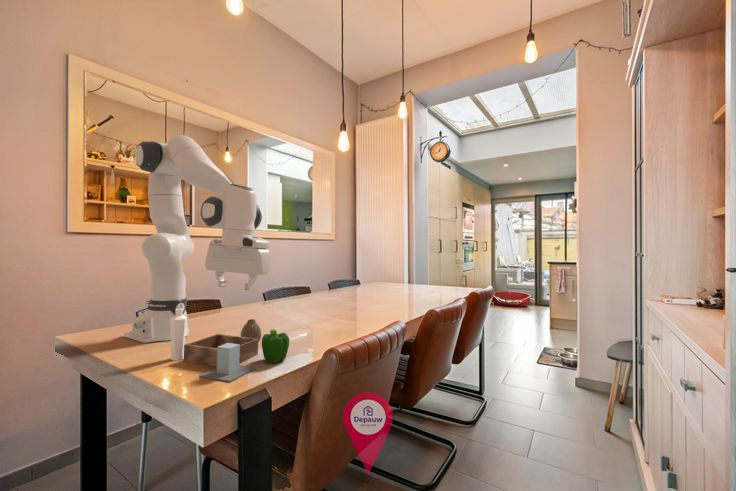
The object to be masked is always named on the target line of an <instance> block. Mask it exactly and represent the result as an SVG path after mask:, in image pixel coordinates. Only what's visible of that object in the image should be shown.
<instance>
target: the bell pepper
mask: <svg viewBox="0 0 736 491" xmlns="http://www.w3.org/2000/svg"><path fill="white" fill-rule="evenodd" d="M269 332H270V333H266V334H263V336H262V337H261V350H262V355H263V358H264V360H265V362H266V363H270V364H276V363H279V362H280V361H284V360H286V357H287V354H288V351H289V347H290V337H289V335H288V334H287V333H286V332H281V333H278V332H277V330H276V329H275V328H272V329H270V330H269Z"/></svg>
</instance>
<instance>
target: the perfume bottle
mask: <svg viewBox="0 0 736 491" xmlns="http://www.w3.org/2000/svg"><path fill="white" fill-rule="evenodd" d="M175 310H176V313H175V316H174V317H172V318H170V330H171V340H170V343H171V344H170V346H171V354H170V358H169V360H171V361H174V362H175V361H182V360H184V345H185V339H186V336H185V332H186V323H187V324H188V316H187V317H186V316H183V315H182V313H183V309H175Z"/></svg>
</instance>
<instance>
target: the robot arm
mask: <svg viewBox="0 0 736 491" xmlns="http://www.w3.org/2000/svg"><path fill="white" fill-rule="evenodd" d="M134 157H135V162H136V165H137V167H138V168H139V169H140V170H142V171H144V172H147V173H149V174H148V180H147V181H148V182H147V197H148V209H149V217H150V220H151V221H152V223H153V225H154V227H155V229H156V231H157V232H156V233H153V234H151V235H149V236H147V237H146V238H145V239H144V240H143V242H142V244H141V252H142V254H143V256H144V257H145V258H146V260H147V264H148V268H149V271H150V275H151V278H150V279H151V294H150V295H151V297H150V298H151V299H150V300H146V301H145V302H146V303H145V305H147V308H146V310H145V311H143V312H142V313H141V314H140V315H139V316H137V317H135V318H134V320H133V321H132V326H131V331H128V332H126V333H124V334H123V337H124V338H127V339H130V340H134V341H136V342H140V343H143V344H144V343H151V342H163V341H171V330H170V318H172V317H174V316H175V313H176V310H175V309H183V313H182V315H183V316H186V317H187V318H188V312H187V310H186V308H187V303H188V301H187V300H188V299H187V297H186V290H187V288H186V287H187V278H186V275H185V273H184V270H183V264H182V261H185V260H187V259H189V258H190V257H191V256H192V255H194V254H193V253H194V252H195V244H194V242H193V241H192V240H193V239H192V238H191V236H190V232H189V228H188V225H187V222H186V218H185V211H184V210H185V208H184V201H183V200H184V199H183V193H182V192H183V191H182V187H181V186H182V183H181V182H182V180H183V181H184V182H185V183H186V184H188V185H191V186H193V187H196V188H200V189H203V190H207V191H209V192H212V193H214V194H216V195H214V196H209V197H207V198H206V199H205V200H204V201H203V202H202V205H201V206H200V207H201V208H200V217H201V221H202V222H203V223H204V225H206V226H207V227H208V228H213V229H221V230H222V233H221V239H212V240H211V241H210V242H209V243H208V249H207V252H206V256H205V264H204V267H205V269H206V270H207V271H213V272H215V277H216V279H217V281H218V282H217V286H218V287H219V288H227V283H228V282H227V280H225V278H224V275H225V273H234V274H244V275H246V274H247V275H248V279H249V280H248V281H247V283H244V290H246V291H253V290H254V283H255V282H256V280H257V279H258V276H265V275H266V276H267V274H269V272H270V268H271V254H270V251H269V250H268V248H270V241H269V240H267V239H264V238H262V237H259V236H258V235H256V229H258V227H259V226H260V225H261V222H262V218H263V216H262V211H261V209H260V207H259V205H258V204H257V194H256V190H254V188H251V187H249V186H244V185H240V184H236V183H235V182H234V181H233V180H232V179H231V178H230V177H229V176H227V175H226V174H225V173H224V172H223V171H222V170H221V169H220V168H218V166H217V165H216V164H215V163H214V162H213V161H212V160H211V158H210V157H209V156H208V155H207V153H206V152H205V151H204V150H203V148H202V147H201V146H200V145H199V144H198V143H197V142H196V140H194V139H193V138H192V137H190V136H188V135H185V134H179V135H178V134H177V135H175V136H173V137H171V138H170V139H169V141H167V142H157V141H152V140H151V141H148V140H147V141H141V142H140V143H138V144H137V145H136V149H135V152H134ZM189 332H190V328H189V326H188V322H187V323H186V332H185V337H187V336H189V335H190V333H189Z"/></svg>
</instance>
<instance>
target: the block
mask: <svg viewBox="0 0 736 491" xmlns="http://www.w3.org/2000/svg"><path fill="white" fill-rule="evenodd" d="M239 355H240V344H233V343H226V344H224V345H221V346H218V347H217V373H221V374H227V375H229V374H231V373H233V372H235V371H237V370H239V365H240V363H239Z"/></svg>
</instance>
